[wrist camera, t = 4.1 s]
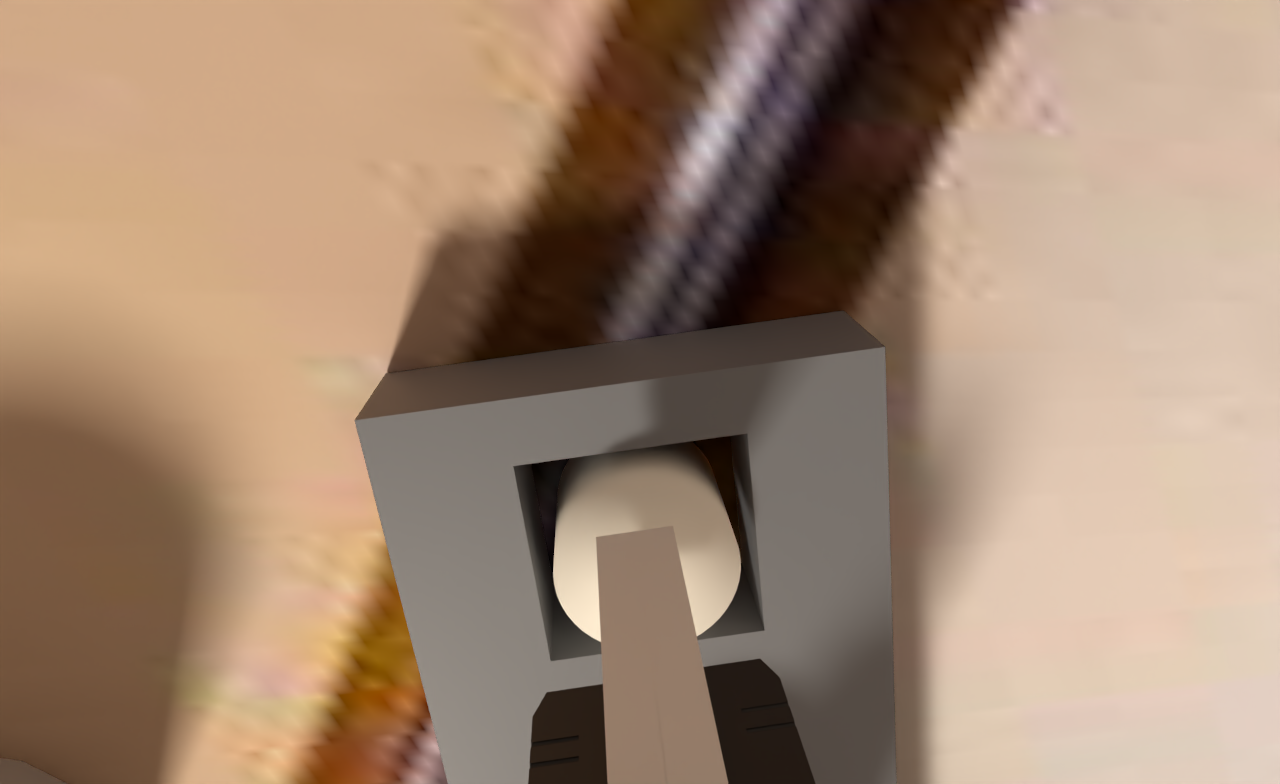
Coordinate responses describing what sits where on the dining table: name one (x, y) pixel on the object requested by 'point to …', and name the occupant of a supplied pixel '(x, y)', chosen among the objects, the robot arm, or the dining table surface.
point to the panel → (624, 420)
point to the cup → (23, 773)
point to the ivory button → (644, 526)
